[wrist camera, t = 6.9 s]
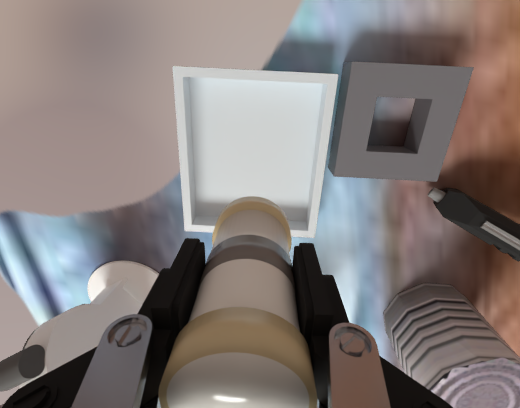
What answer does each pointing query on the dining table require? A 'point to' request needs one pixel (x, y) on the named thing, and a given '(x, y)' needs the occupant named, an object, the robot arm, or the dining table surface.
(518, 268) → the dining table surface
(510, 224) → the gun
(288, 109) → the parts tray
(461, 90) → the grey flat square block
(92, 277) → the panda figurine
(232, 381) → the cylinder
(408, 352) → the can
